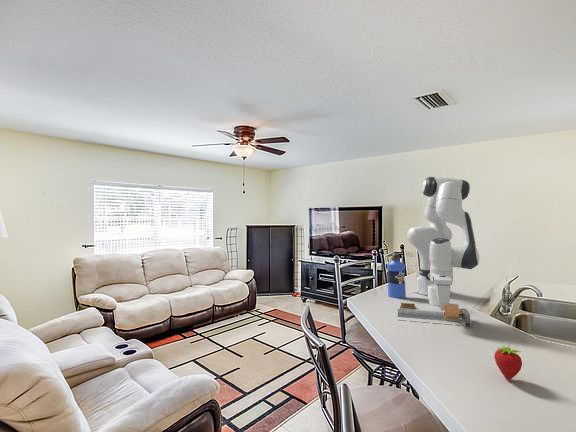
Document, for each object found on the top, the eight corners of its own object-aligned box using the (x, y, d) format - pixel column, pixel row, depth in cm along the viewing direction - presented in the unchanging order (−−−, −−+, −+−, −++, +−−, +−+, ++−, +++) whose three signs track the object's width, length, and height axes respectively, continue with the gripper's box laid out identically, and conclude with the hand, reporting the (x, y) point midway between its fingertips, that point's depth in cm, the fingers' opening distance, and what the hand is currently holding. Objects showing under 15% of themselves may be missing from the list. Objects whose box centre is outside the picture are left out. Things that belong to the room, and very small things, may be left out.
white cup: (444, 310, 147) (443, 288, 148) (426, 307, 152) (425, 287, 152) (447, 306, 154) (446, 285, 154) (430, 303, 159) (429, 284, 159)
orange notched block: (445, 319, 129) (445, 306, 129) (444, 316, 134) (444, 303, 134) (459, 320, 128) (458, 307, 128) (457, 317, 132) (457, 304, 132)
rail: (398, 313, 144) (398, 303, 144) (468, 319, 133) (467, 308, 133) (397, 320, 134) (397, 309, 134) (472, 326, 124) (471, 315, 124)
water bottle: (384, 298, 173) (382, 252, 173) (397, 296, 176) (395, 251, 177) (396, 301, 164) (395, 254, 165) (409, 299, 168) (408, 253, 168)
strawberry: (515, 374, 86) (513, 337, 86) (528, 388, 79) (526, 348, 79) (491, 372, 88) (489, 336, 88) (501, 385, 80) (499, 346, 81)
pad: (400, 308, 152) (400, 301, 152) (416, 309, 150) (415, 302, 150) (399, 312, 146) (399, 304, 146) (416, 313, 143) (415, 305, 143)
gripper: (432, 272, 143) (433, 302, 143) (434, 280, 124) (435, 315, 124) (447, 273, 141) (448, 304, 141) (452, 281, 122) (453, 317, 122)
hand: (442, 309), depth 132 cm, fingers closed, pressing on orange notched block
